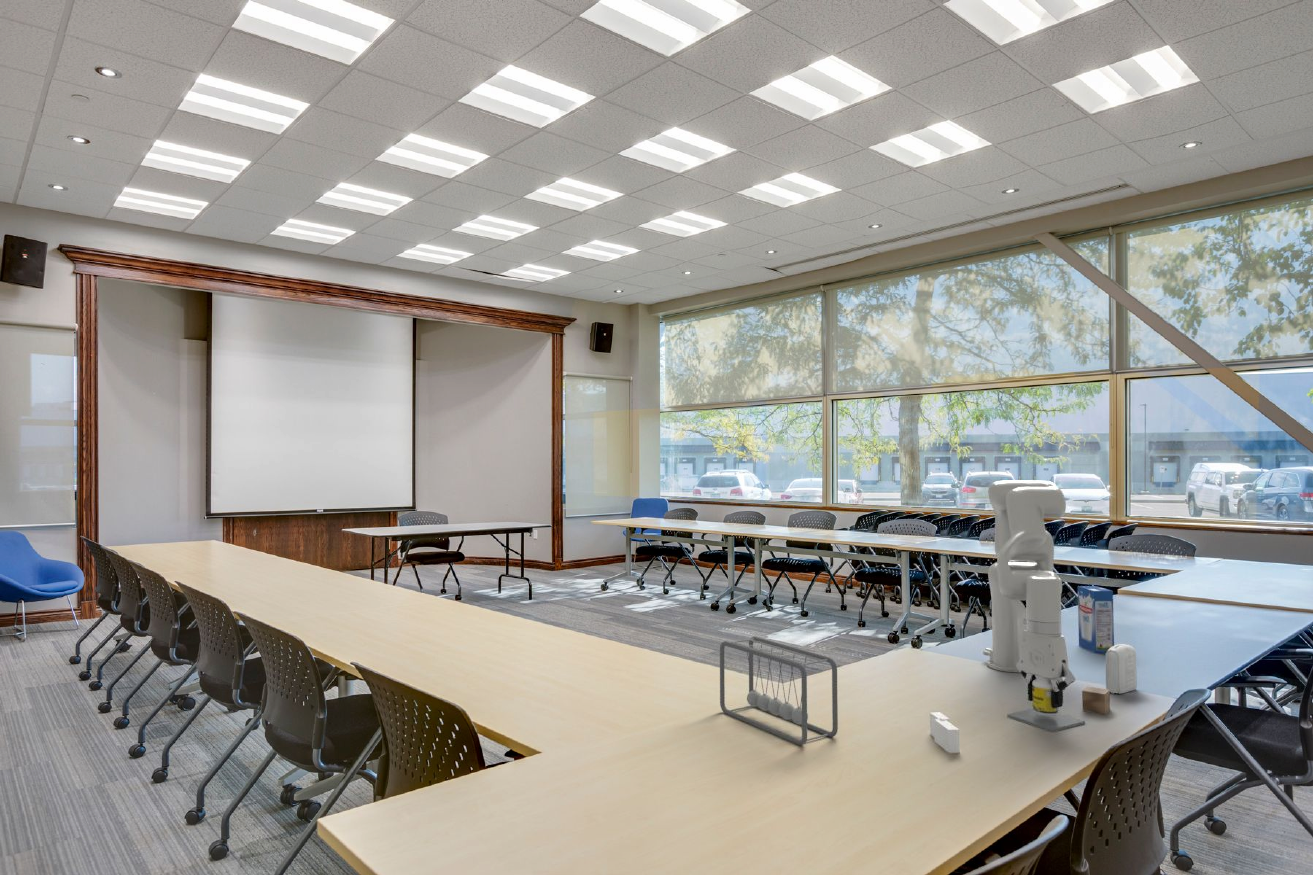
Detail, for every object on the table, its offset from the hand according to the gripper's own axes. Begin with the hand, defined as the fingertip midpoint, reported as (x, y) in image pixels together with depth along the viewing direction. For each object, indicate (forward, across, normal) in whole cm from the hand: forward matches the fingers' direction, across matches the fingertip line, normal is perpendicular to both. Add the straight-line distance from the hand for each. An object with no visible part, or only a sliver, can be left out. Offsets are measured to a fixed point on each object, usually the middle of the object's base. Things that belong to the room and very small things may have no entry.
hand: (1045, 702), depth 186 cm
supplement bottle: (+3, 0, 0) cm, 3 cm away
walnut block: (+4, +1, +18) cm, 18 cm away
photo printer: (+4, -6, +40) cm, 40 cm away
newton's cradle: (+4, -28, -59) cm, 65 cm away
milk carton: (+5, -38, +79) cm, 88 cm away
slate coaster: (+4, 0, 0) cm, 4 cm away
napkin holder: (+5, -1, -33) cm, 33 cm away
